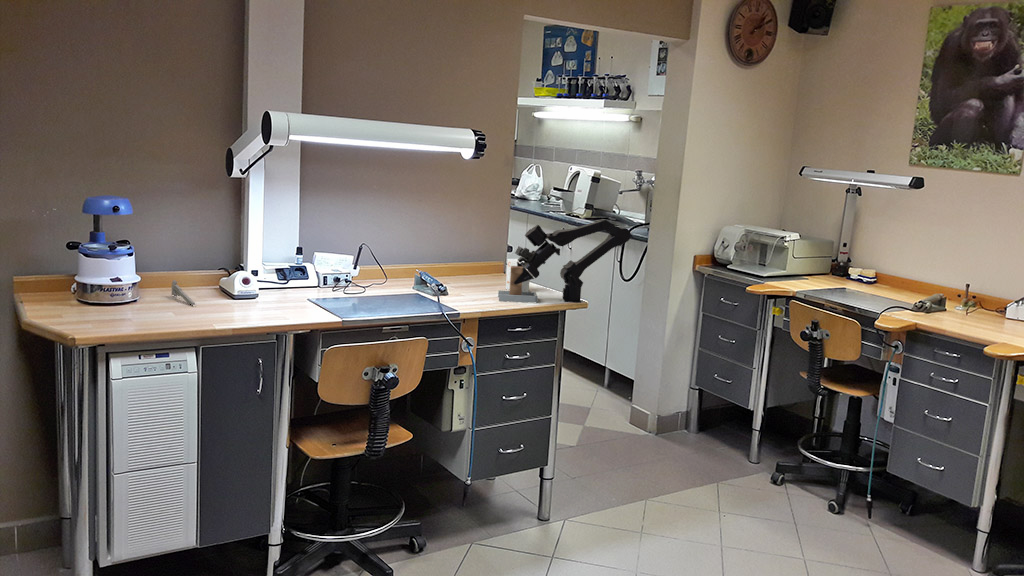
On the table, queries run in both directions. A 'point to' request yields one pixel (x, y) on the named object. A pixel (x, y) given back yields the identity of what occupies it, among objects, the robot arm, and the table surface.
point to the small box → (510, 263)
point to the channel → (517, 296)
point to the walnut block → (513, 276)
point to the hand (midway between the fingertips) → (512, 281)
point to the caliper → (180, 293)
